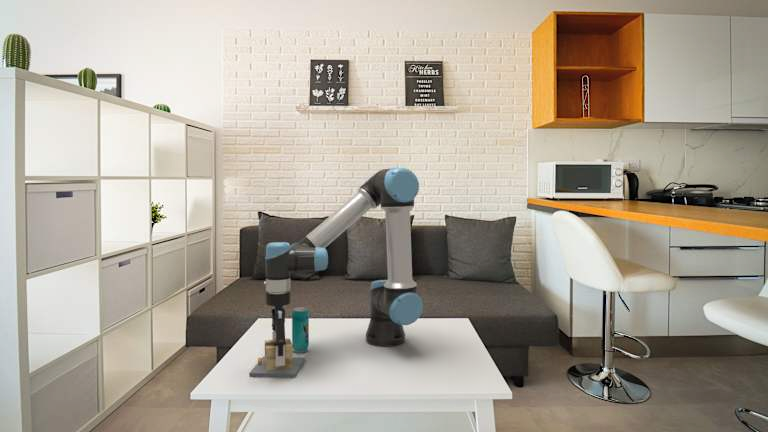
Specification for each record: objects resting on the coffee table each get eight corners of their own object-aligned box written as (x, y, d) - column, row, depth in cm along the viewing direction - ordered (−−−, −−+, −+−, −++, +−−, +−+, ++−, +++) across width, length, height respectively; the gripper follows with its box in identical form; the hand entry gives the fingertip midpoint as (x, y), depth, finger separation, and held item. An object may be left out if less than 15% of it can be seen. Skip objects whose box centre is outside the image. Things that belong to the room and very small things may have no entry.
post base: (305, 360, 150) (304, 339, 150) (295, 377, 136) (295, 354, 136) (263, 360, 151) (263, 338, 151) (249, 376, 137) (249, 353, 137)
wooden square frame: (289, 359, 149) (289, 337, 148) (292, 368, 141) (292, 345, 141) (264, 361, 146) (264, 339, 146) (266, 370, 139) (266, 347, 138)
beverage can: (305, 354, 157) (305, 311, 156) (289, 352, 158) (289, 310, 157) (311, 348, 162) (311, 307, 162) (296, 347, 164) (295, 306, 163)
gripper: (263, 284, 153) (264, 346, 154) (268, 301, 130) (268, 374, 131) (286, 283, 156) (286, 344, 157) (294, 299, 132) (295, 371, 133)
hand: (278, 357), depth 144 cm, fingers open, 13 cm apart
